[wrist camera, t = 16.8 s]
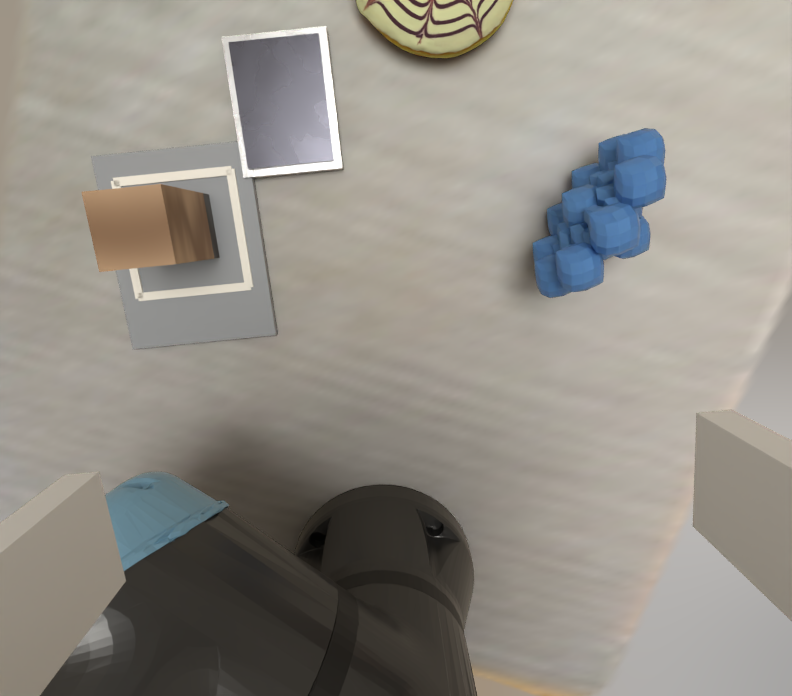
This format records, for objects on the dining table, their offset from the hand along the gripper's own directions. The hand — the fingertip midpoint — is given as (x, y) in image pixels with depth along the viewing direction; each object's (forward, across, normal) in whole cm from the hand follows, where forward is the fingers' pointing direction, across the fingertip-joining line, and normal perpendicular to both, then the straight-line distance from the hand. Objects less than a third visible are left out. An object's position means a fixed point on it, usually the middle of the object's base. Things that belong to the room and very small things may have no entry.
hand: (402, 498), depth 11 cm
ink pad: (+29, +6, -15) cm, 33 cm away
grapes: (+29, -14, -5) cm, 32 cm away
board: (+29, +14, -6) cm, 33 cm away
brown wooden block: (+28, +14, -7) cm, 32 cm away
